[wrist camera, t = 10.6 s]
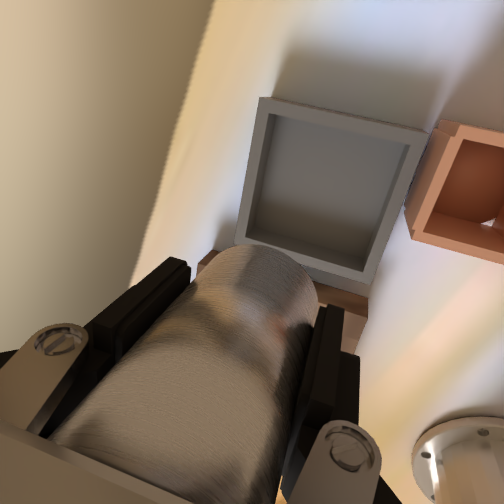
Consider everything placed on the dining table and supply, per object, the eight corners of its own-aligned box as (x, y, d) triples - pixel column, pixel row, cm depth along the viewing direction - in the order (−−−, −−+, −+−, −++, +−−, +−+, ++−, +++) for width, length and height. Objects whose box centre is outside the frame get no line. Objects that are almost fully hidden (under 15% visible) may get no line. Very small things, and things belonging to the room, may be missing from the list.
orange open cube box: (544, 140, 22) (599, 154, 17) (494, 234, 25) (527, 271, 19) (436, 117, 23) (455, 123, 18) (400, 209, 26) (407, 238, 21)
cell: (332, 264, 12) (268, 585, 4) (302, 364, 14) (221, 705, 6) (207, 229, 12) (-40, 444, 5) (196, 328, 14) (8, 590, 7)
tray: (422, 130, 24) (429, 134, 21) (370, 267, 28) (370, 285, 26) (270, 97, 26) (259, 97, 23) (245, 230, 30) (233, 243, 28)
